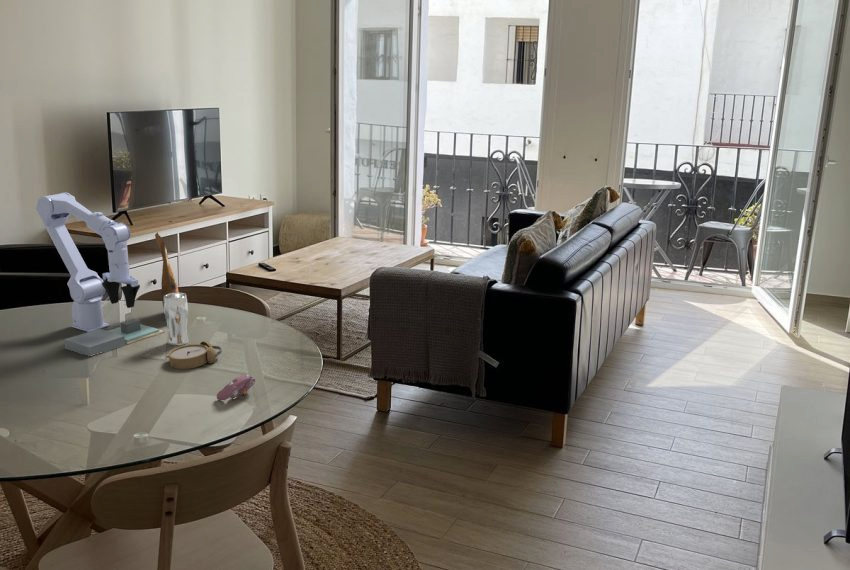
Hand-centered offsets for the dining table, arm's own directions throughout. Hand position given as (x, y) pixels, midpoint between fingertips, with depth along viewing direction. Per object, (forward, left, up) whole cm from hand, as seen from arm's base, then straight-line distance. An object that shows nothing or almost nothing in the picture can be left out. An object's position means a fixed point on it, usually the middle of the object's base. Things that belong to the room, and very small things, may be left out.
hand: (122, 305), depth 257 cm
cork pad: (+2, +1, -9) cm, 10 cm away
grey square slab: (+3, -13, -9) cm, 16 cm away
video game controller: (+65, -15, -10) cm, 67 cm away
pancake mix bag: (-2, +20, -10) cm, 22 cm away
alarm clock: (+36, -4, -10) cm, 38 cm away
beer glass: (+20, +4, -10) cm, 23 cm away
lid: (+2, +1, -9) cm, 9 cm away
